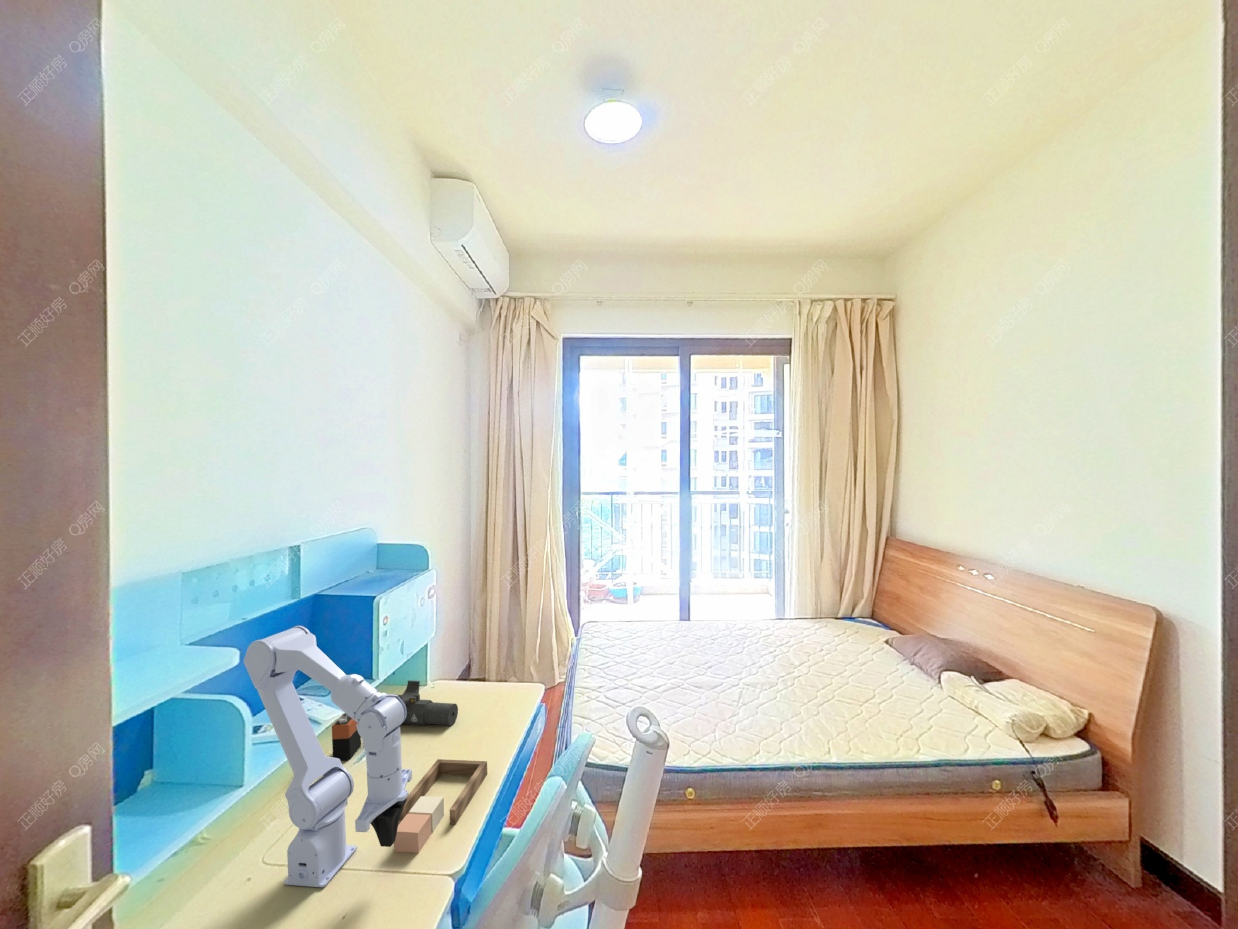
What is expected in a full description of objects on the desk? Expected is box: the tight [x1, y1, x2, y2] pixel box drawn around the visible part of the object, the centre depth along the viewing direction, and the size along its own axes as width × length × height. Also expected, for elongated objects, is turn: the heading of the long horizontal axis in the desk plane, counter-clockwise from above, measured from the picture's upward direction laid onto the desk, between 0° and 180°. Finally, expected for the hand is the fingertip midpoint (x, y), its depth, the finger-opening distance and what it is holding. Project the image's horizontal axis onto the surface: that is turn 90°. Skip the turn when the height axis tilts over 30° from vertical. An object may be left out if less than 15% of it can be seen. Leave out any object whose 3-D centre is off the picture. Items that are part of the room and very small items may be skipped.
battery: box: [331, 712, 362, 761], centre depth 134 cm, size 4×7×10 cm, turn 2°
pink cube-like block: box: [393, 814, 432, 854], centre depth 102 cm, size 5×5×4 cm
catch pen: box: [399, 759, 488, 825], centre depth 116 cm, size 17×12×3 cm
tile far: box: [409, 795, 445, 833], centre depth 107 cm, size 5×5×4 cm
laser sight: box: [397, 680, 459, 726], centre depth 150 cm, size 10×22×10 cm, turn 80°
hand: (387, 844), depth 93 cm, fingers closed
